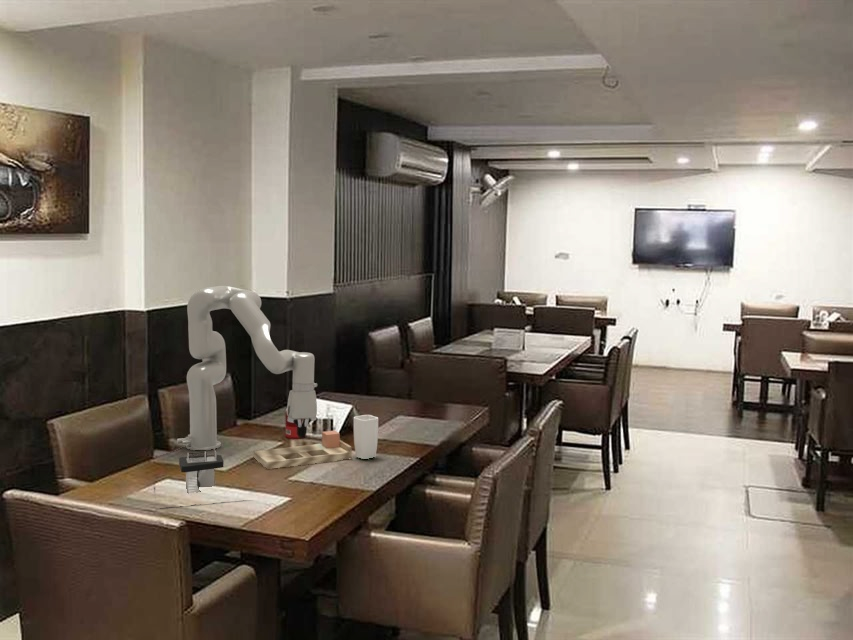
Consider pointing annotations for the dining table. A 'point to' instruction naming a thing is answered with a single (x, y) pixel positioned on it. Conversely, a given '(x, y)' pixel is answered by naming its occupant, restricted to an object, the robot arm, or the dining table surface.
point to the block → (330, 439)
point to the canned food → (291, 428)
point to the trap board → (302, 455)
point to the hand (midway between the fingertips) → (301, 436)
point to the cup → (365, 436)
